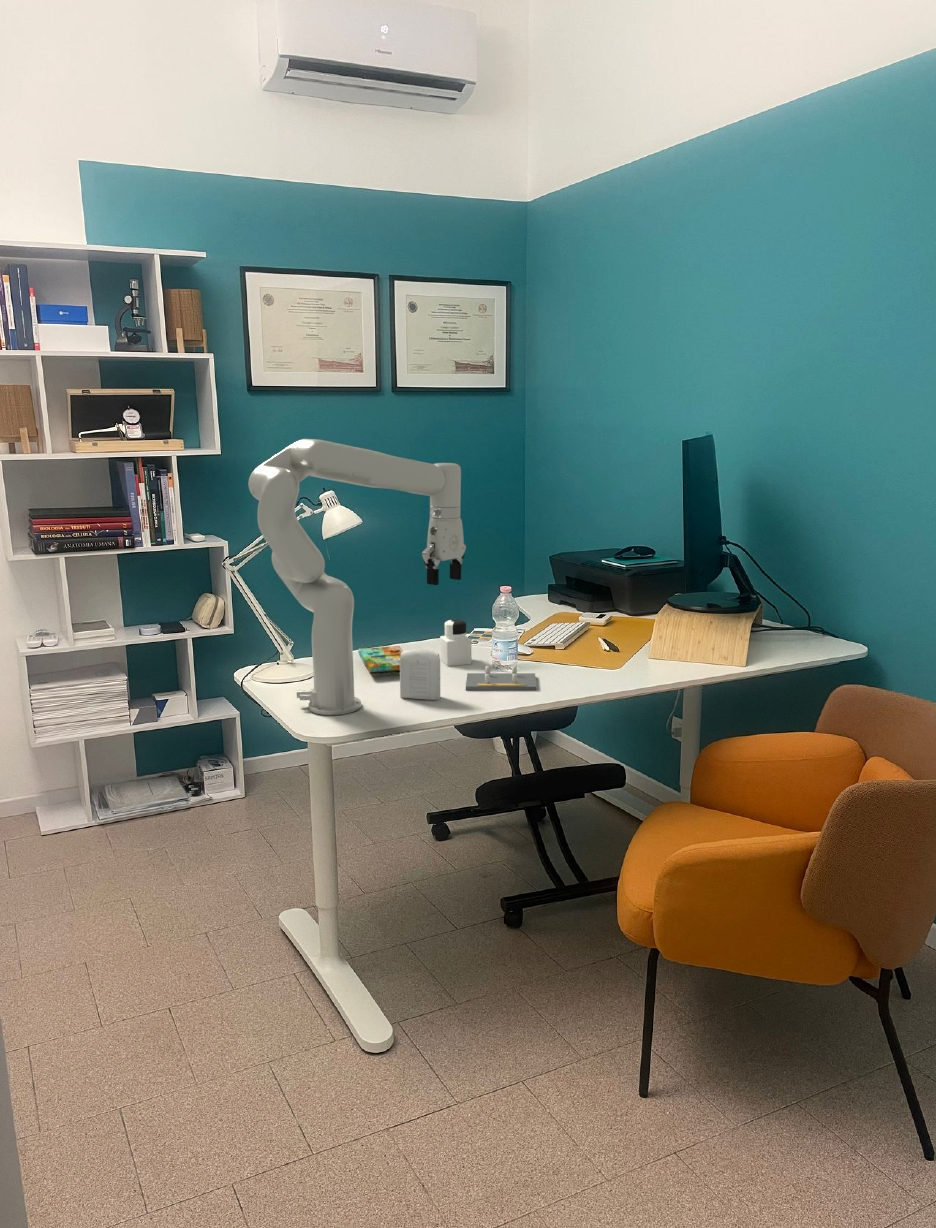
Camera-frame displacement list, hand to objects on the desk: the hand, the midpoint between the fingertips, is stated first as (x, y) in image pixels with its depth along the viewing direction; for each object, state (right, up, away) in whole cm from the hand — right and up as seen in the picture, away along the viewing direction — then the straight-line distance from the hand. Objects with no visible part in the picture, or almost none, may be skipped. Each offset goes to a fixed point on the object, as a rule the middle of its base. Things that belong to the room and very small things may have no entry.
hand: (444, 581), depth 236 cm
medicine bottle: (+3, -22, +29) cm, 37 cm away
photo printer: (-6, -29, -2) cm, 30 cm away
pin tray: (+15, -26, +9) cm, 31 cm away
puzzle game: (-17, -24, +24) cm, 38 cm away
